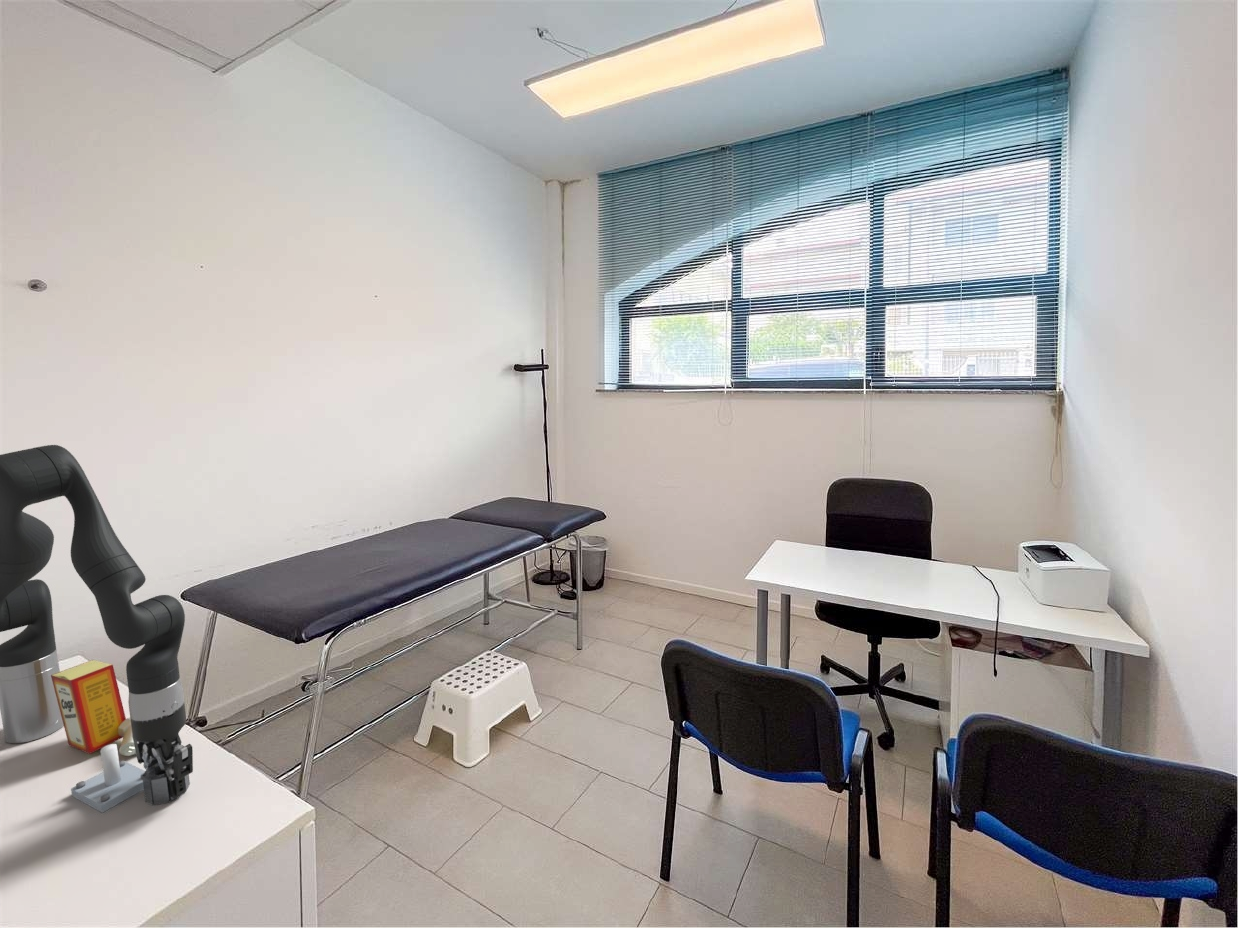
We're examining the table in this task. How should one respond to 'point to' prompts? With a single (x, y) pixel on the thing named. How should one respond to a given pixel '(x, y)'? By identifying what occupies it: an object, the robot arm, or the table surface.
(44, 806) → the table surface
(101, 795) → the mounting base with peg
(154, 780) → the hub
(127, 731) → the pipe fitting
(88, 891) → the table surface
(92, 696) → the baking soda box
